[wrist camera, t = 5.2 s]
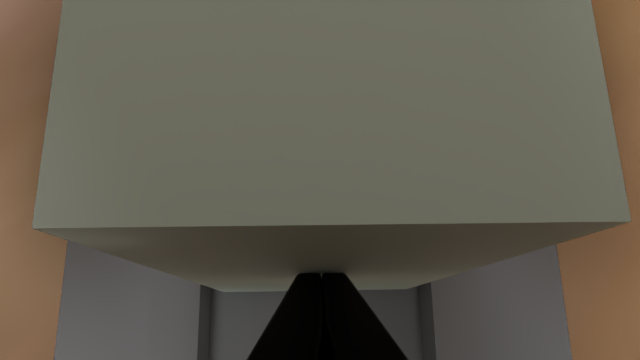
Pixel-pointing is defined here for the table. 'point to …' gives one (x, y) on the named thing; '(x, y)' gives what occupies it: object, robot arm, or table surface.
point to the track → (258, 307)
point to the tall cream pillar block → (327, 136)
